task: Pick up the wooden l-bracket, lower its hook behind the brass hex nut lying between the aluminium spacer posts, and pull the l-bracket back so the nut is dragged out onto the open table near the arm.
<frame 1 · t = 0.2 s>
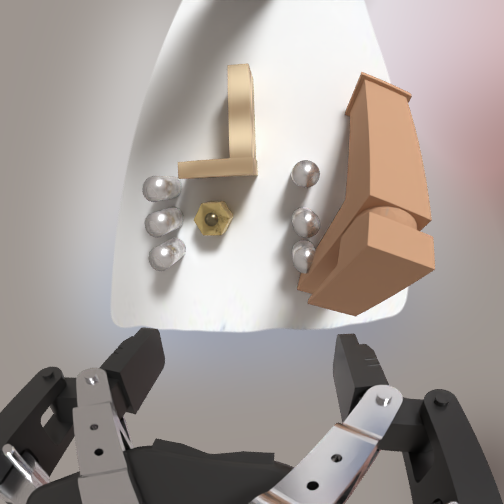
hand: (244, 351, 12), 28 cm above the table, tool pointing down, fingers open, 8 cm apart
nut: (216, 216, 39), on the table
spacers: (233, 212, 39), on the table
tan tall stepped post: (349, 190, 37), on the table, touching spacers
wooden l-bracket: (245, 118, 36), on the table
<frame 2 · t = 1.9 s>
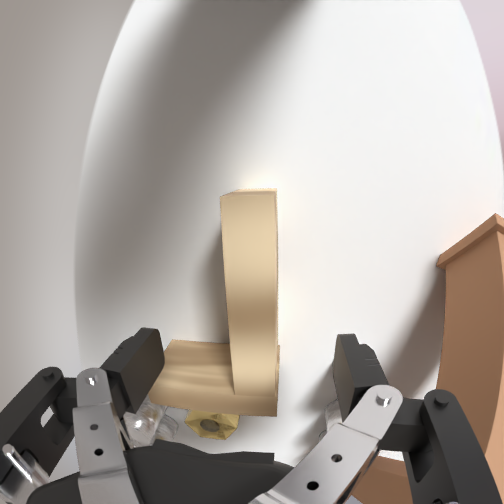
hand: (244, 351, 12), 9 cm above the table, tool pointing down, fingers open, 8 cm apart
nut: (216, 403, 24), on the table
spacers: (241, 403, 24), on the table
tan tall stepped post: (410, 370, 22), on the table, touching spacers
wooden l-bracket: (260, 274, 20), on the table
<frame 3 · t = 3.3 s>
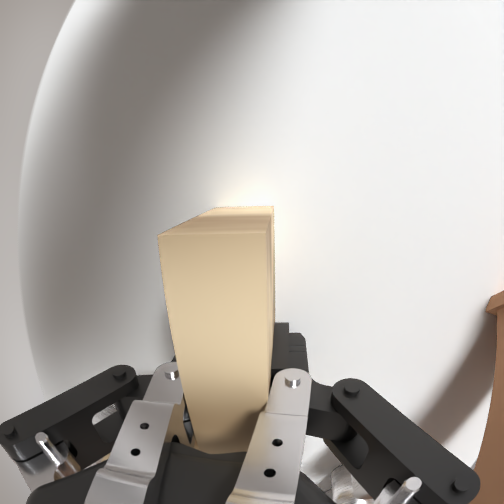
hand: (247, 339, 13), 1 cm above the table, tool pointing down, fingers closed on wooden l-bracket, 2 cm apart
spacers: (230, 467, 17), on the table
tan tall stepped post: (435, 426, 15), on the table, touching spacers
wooden l-bracket: (249, 332, 14), on the table, touching gripper
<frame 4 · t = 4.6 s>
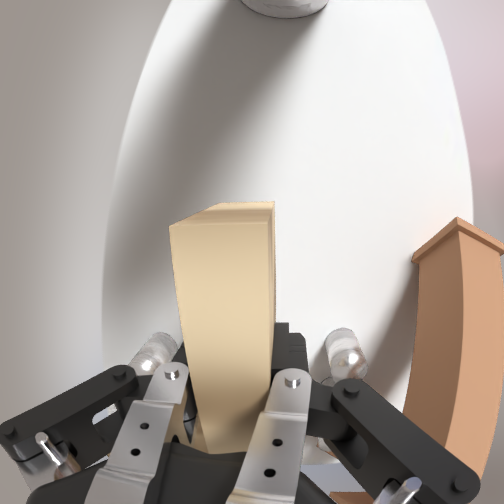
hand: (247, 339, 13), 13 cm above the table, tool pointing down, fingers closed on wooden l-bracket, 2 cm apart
spacers: (247, 380, 29), on the table
tan tall stepped post: (394, 353, 27), on the table, touching spacers
wooden l-bracket: (251, 322, 14), point 11 cm above the table, touching gripper
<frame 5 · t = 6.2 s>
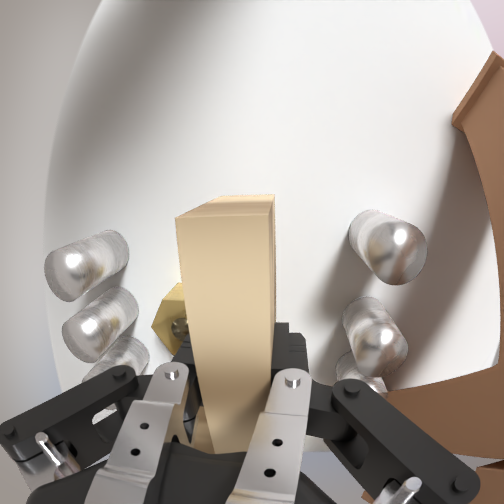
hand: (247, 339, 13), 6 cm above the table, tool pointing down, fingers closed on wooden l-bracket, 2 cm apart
nut: (197, 309, 20), on the table
spacers: (230, 305, 20), on the table
tan tall stepped post: (443, 267, 18), on the table, touching spacers
wooden l-bracket: (252, 311, 15), point 4 cm above the table, touching gripper
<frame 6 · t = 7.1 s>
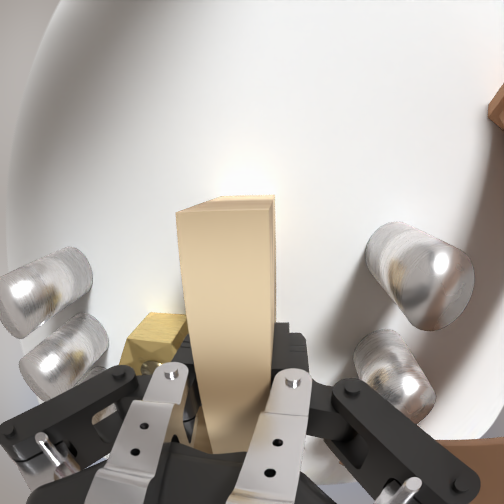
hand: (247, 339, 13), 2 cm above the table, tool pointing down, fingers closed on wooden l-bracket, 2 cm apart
nut: (175, 343, 16), on the table
spacers: (214, 340, 15), on the table
tan tall stepped post: (473, 290, 14), on the table, touching spacers
wooden l-bracket: (251, 312, 15), on the table, touching gripper
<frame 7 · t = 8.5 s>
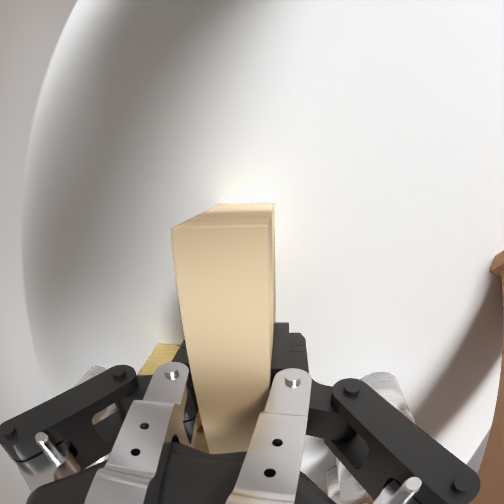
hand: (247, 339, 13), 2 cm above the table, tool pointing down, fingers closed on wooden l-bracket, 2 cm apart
nut: (183, 373, 16), on the table, touching wooden l-bracket
spacers: (228, 438, 17), on the table
tan tall stepped post: (441, 399, 16), on the table, touching spacers
wooden l-bracket: (250, 322, 14), on the table, touching gripper, nut
when the fingers open (2 cm above the table, at t = 10.5 s): wooden l-bracket stays where it is, on the table.
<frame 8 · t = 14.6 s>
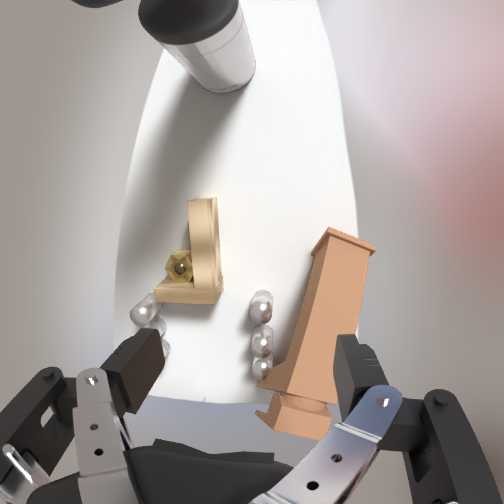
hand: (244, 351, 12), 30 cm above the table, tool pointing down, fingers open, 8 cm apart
nut: (186, 262, 44), on the table
spacers: (206, 325, 46), on the table
tan tall stepped post: (306, 317, 45), on the table, touching spacers
wooden l-bracket: (211, 237, 42), on the table
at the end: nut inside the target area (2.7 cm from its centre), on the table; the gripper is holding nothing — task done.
